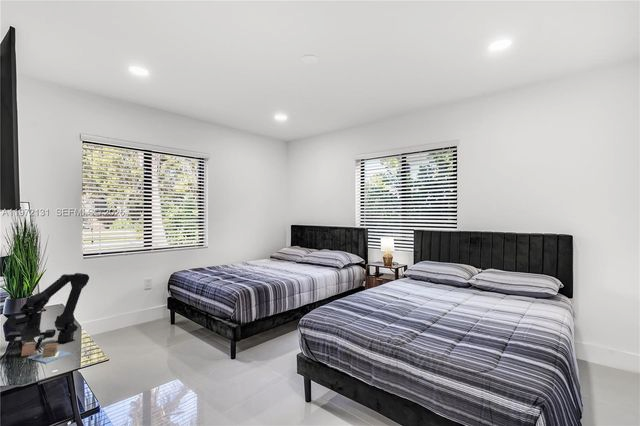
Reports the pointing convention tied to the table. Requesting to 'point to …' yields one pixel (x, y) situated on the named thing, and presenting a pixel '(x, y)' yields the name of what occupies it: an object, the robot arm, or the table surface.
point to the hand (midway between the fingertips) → (29, 351)
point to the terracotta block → (29, 349)
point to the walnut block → (50, 350)
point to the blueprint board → (48, 359)
